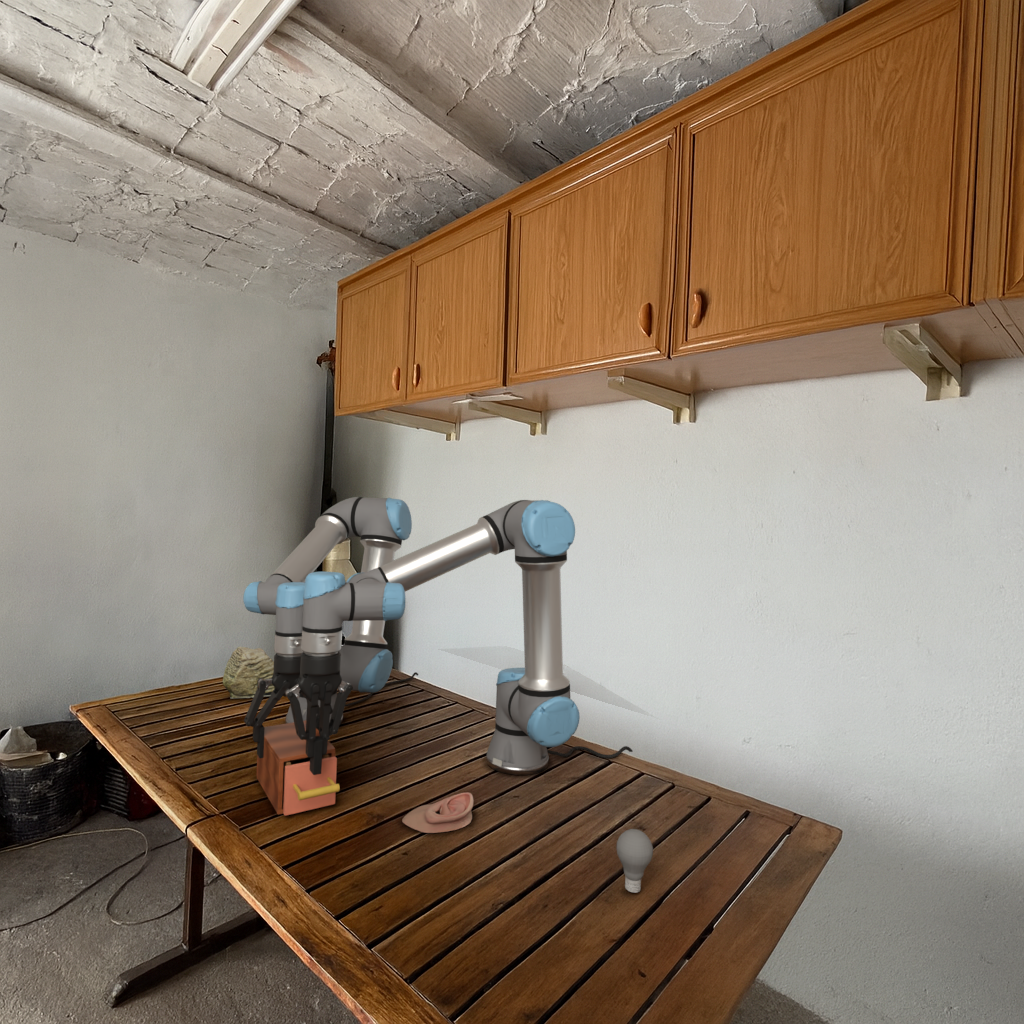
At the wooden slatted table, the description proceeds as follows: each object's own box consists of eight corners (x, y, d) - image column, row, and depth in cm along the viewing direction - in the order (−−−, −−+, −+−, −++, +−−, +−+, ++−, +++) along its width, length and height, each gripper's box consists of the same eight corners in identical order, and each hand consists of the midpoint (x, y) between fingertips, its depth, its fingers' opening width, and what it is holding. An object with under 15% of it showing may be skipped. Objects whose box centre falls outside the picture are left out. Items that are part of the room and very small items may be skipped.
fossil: (218, 695, 195) (220, 647, 195) (278, 685, 208) (279, 640, 207) (228, 703, 189) (230, 653, 188) (289, 692, 201) (290, 645, 201)
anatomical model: (396, 808, 122) (417, 782, 133) (395, 828, 122) (416, 801, 133) (463, 818, 119) (478, 791, 130) (462, 839, 119) (477, 810, 131)
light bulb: (610, 879, 108) (613, 822, 108) (644, 879, 109) (647, 822, 109) (619, 902, 102) (622, 840, 102) (655, 901, 103) (658, 840, 103)
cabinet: (333, 801, 132) (335, 748, 132) (277, 814, 126) (279, 758, 125) (307, 767, 148) (308, 719, 147) (256, 777, 141) (258, 727, 141)
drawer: (344, 816, 125) (346, 768, 124) (292, 828, 119) (294, 779, 119) (309, 770, 144) (311, 729, 144) (263, 780, 138) (265, 737, 138)
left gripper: (238, 662, 131) (234, 767, 131) (349, 651, 144) (345, 747, 144) (231, 654, 137) (227, 754, 137) (338, 644, 150) (335, 736, 150)
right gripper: (292, 659, 117) (286, 786, 117) (360, 653, 124) (354, 772, 124) (281, 650, 123) (276, 770, 123) (347, 644, 130) (341, 758, 130)
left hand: (288, 750), depth 141 cm, fingers closed on cabinet, 11 cm apart
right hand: (315, 771), depth 124 cm, fingers closed
